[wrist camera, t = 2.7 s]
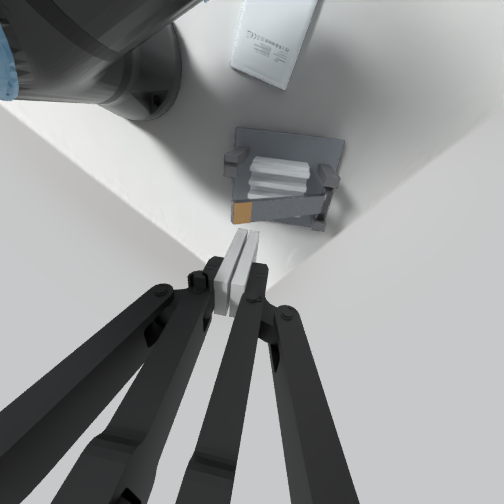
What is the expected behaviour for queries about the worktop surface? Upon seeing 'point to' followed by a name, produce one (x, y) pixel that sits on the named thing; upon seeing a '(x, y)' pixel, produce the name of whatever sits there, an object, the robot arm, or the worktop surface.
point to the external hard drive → (271, 38)
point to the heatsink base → (282, 167)
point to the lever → (281, 207)
